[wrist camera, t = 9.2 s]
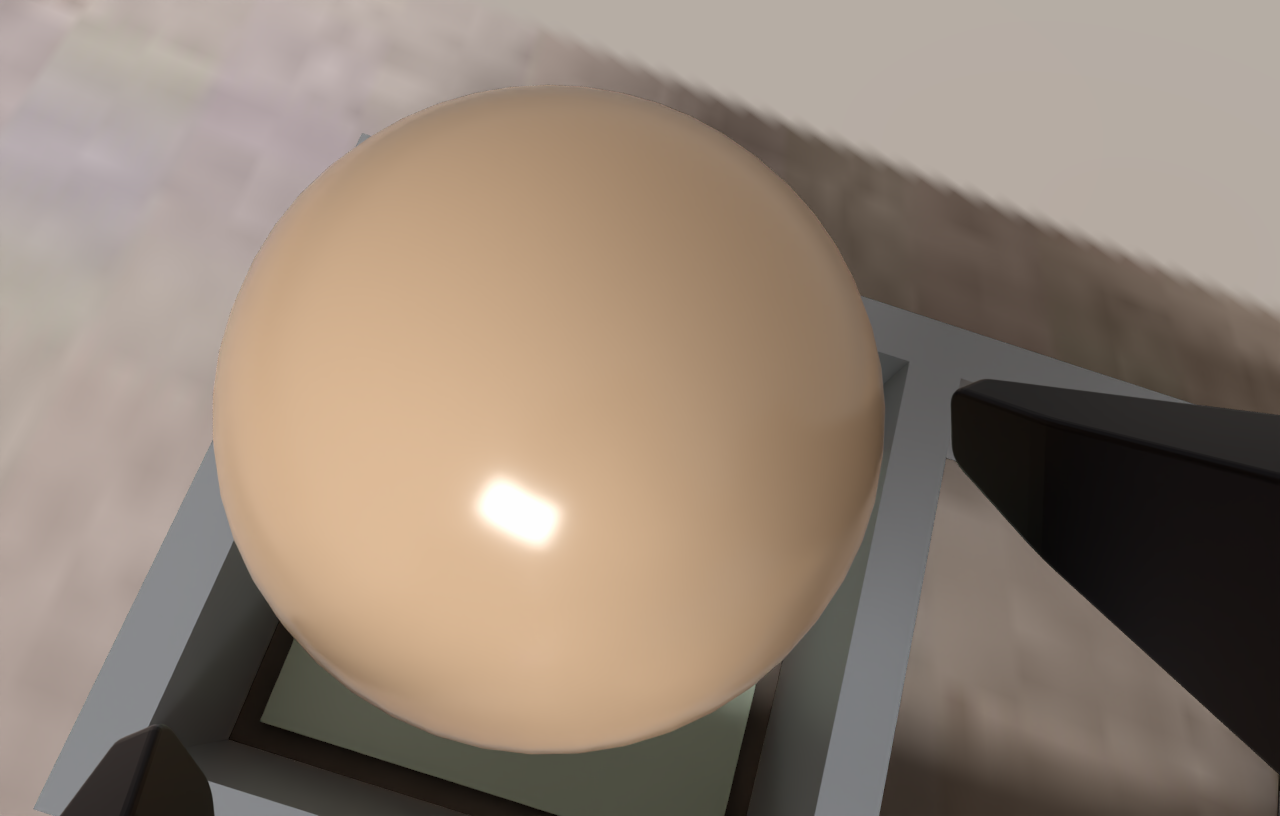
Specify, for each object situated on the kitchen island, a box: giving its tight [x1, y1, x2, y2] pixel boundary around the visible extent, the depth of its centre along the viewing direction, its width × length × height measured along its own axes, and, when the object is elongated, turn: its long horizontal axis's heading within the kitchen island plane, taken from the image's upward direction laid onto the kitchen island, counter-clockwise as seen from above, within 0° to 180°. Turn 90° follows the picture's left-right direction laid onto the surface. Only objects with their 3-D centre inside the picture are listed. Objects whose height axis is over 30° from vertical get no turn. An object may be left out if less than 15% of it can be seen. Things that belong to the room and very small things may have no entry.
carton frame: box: [33, 133, 1280, 816], centre depth 16 cm, size 12×23×4 cm, turn 73°
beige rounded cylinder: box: [213, 85, 885, 754], centre depth 11 cm, size 5×5×14 cm
